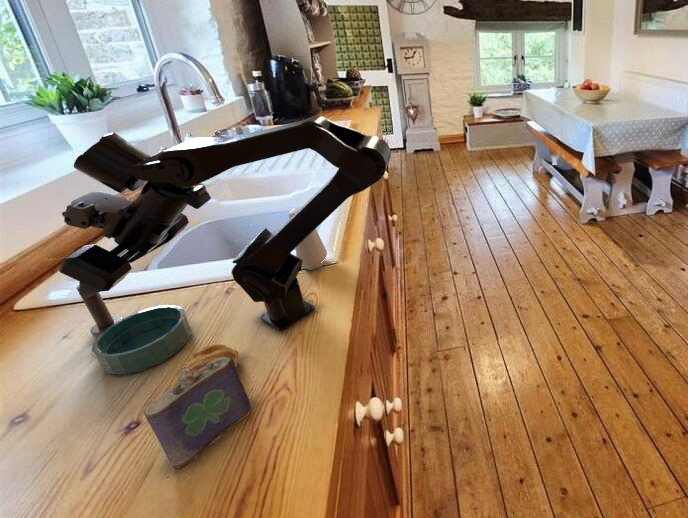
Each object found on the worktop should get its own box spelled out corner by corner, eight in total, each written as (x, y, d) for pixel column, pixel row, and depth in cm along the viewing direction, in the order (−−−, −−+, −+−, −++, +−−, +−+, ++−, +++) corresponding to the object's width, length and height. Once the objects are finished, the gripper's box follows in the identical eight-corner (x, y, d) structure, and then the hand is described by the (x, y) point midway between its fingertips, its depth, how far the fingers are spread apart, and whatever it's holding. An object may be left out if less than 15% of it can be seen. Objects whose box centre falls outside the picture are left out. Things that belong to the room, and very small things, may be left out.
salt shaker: (334, 257, 88) (321, 202, 83) (320, 272, 83) (305, 215, 78) (308, 256, 89) (293, 202, 84) (293, 271, 84) (276, 215, 78)
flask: (178, 472, 47) (142, 407, 43) (165, 461, 48) (129, 396, 44) (256, 409, 54) (232, 347, 50) (243, 400, 56) (218, 339, 51)
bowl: (205, 338, 67) (197, 319, 65) (119, 389, 58) (107, 368, 57) (175, 315, 72) (167, 297, 71) (92, 358, 64) (80, 338, 62)
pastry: (233, 401, 56) (224, 381, 54) (173, 422, 53) (162, 401, 51) (241, 354, 63) (233, 335, 62) (189, 370, 61) (180, 351, 59)
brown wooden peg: (130, 330, 69) (105, 281, 65) (100, 346, 66) (71, 295, 62) (121, 322, 71) (96, 274, 67) (91, 337, 68) (63, 287, 64)
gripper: (143, 155, 67) (98, 221, 70) (39, 204, 50) (-14, 287, 53) (210, 195, 71) (164, 255, 74) (135, 252, 54) (80, 327, 57)
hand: (107, 277), depth 65 cm, fingers open, 9 cm apart
